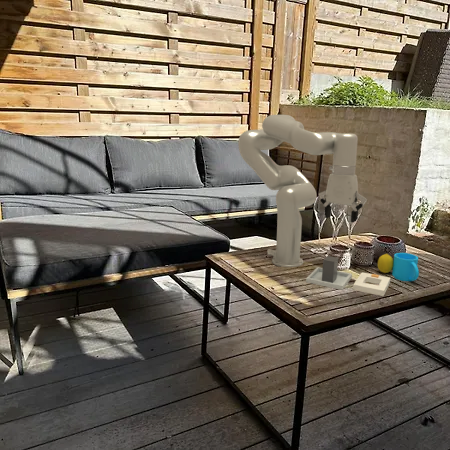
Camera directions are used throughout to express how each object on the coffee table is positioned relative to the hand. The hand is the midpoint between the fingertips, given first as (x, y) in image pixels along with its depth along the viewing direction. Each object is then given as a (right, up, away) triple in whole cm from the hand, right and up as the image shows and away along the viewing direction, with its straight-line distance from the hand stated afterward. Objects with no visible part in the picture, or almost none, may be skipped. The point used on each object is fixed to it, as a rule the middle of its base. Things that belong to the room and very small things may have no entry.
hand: (340, 219), depth 147 cm
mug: (+26, -22, +8) cm, 35 cm away
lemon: (+20, -21, +12) cm, 31 cm away
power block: (+11, -24, 0) cm, 26 cm away
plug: (-3, -22, +5) cm, 22 cm away
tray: (-3, -22, +5) cm, 23 cm away
